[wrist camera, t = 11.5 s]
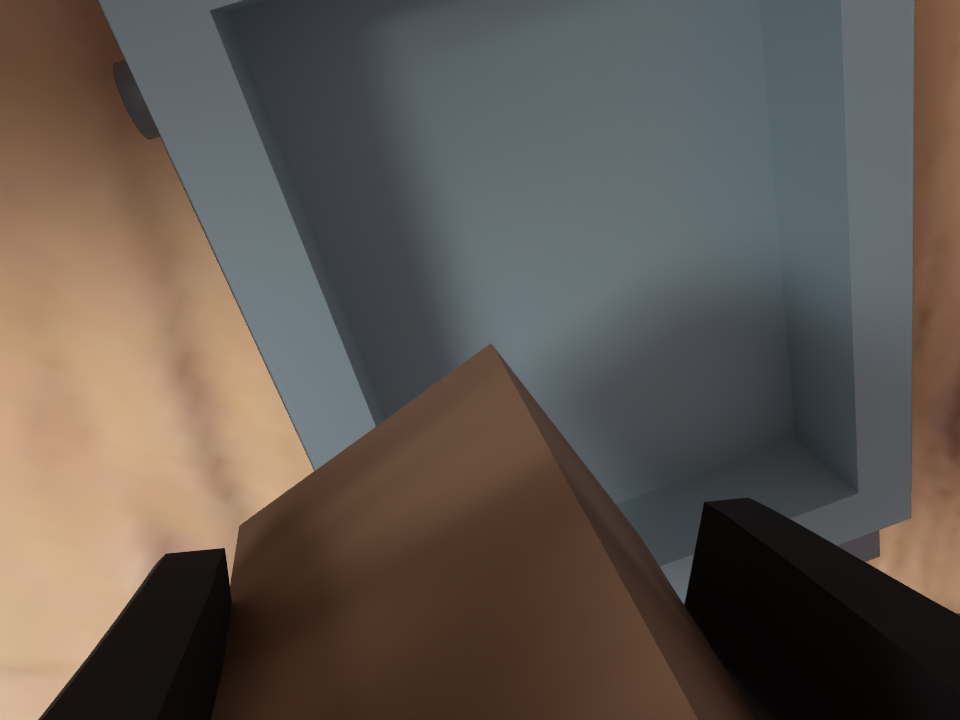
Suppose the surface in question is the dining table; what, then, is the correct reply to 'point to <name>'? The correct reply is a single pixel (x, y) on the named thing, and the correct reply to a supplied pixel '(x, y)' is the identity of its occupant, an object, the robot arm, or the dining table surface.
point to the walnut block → (460, 581)
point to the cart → (570, 226)
